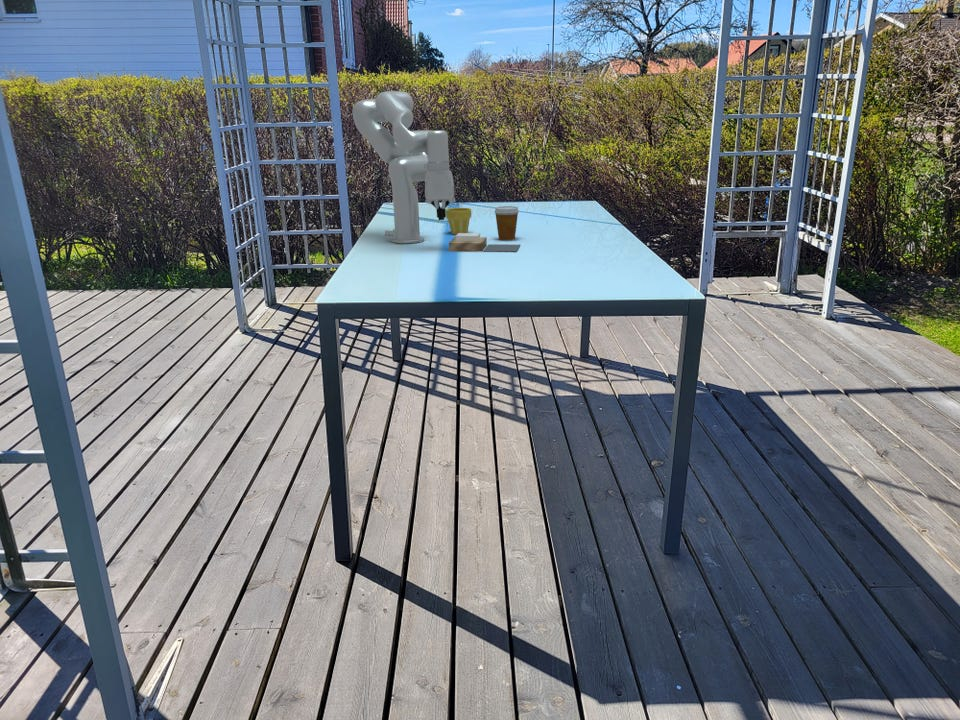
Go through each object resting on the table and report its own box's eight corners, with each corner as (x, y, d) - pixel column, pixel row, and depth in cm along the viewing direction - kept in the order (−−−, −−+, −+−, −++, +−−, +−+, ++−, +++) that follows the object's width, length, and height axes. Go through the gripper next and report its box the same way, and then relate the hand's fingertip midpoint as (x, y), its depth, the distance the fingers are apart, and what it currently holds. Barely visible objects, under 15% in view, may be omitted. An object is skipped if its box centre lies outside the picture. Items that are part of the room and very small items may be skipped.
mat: (483, 251, 251) (483, 250, 251) (488, 245, 264) (488, 244, 263) (517, 252, 250) (517, 251, 250) (520, 245, 262) (520, 244, 262)
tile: (455, 241, 255) (455, 235, 254) (458, 238, 261) (458, 233, 260) (477, 241, 254) (477, 236, 253) (480, 238, 260) (479, 233, 259)
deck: (449, 251, 254) (448, 242, 253) (454, 245, 265) (454, 237, 264) (482, 251, 252) (482, 243, 251) (486, 245, 263) (486, 237, 262)
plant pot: (443, 232, 294) (443, 208, 290) (467, 230, 297) (467, 206, 293) (450, 236, 284) (449, 211, 281) (474, 234, 287) (474, 209, 284)
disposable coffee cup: (521, 237, 279) (521, 206, 275) (516, 241, 270) (516, 209, 266) (497, 236, 281) (497, 205, 277) (492, 240, 272) (491, 209, 268)
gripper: (415, 168, 248) (419, 221, 253) (457, 167, 245) (460, 220, 251) (420, 167, 255) (423, 218, 260) (461, 165, 252) (463, 218, 258)
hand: (441, 219), depth 256 cm, fingers closed
